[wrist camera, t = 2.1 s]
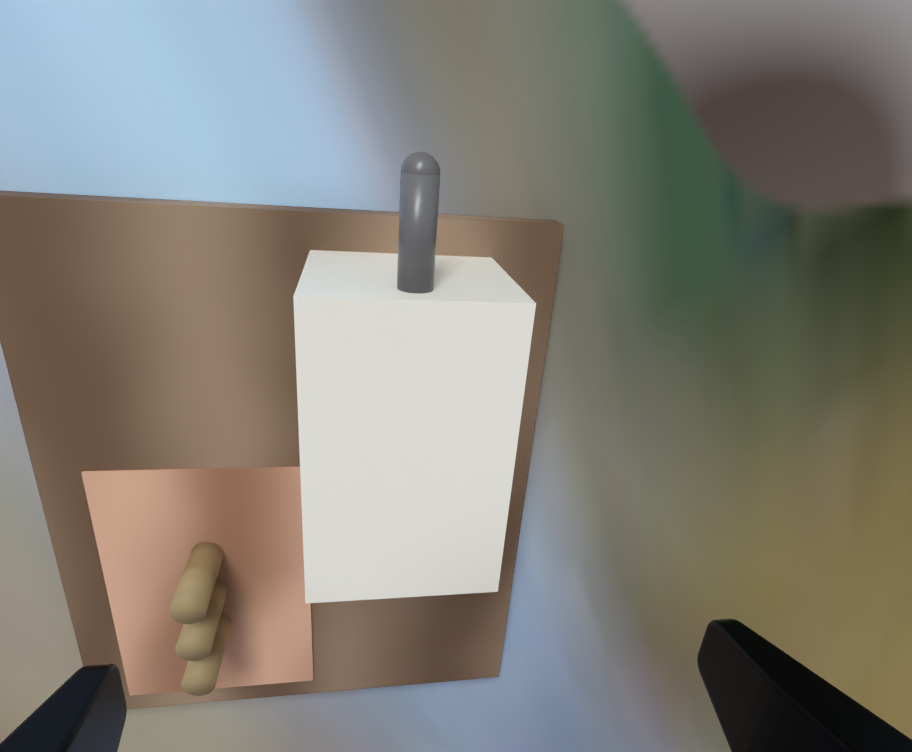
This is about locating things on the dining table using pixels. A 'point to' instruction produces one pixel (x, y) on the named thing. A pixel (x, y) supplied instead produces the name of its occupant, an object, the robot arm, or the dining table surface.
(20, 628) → the dining table surface
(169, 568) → the mounting board
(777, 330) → the dining table surface
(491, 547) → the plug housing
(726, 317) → the dining table surface
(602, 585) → the dining table surface
